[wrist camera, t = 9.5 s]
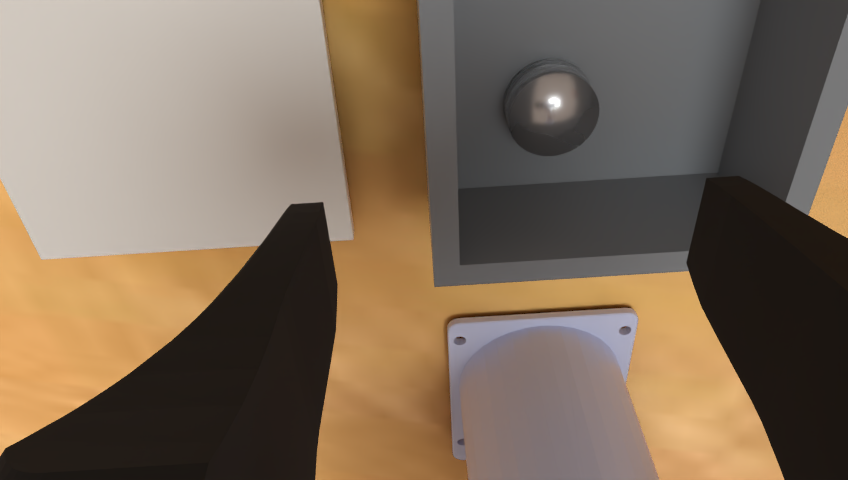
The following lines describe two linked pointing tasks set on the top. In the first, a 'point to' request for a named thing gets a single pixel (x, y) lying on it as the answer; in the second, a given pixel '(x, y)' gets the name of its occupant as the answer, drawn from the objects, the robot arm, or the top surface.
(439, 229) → the gray open box
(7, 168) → the white slab
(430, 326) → the top surface
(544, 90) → the chrome dome knob
